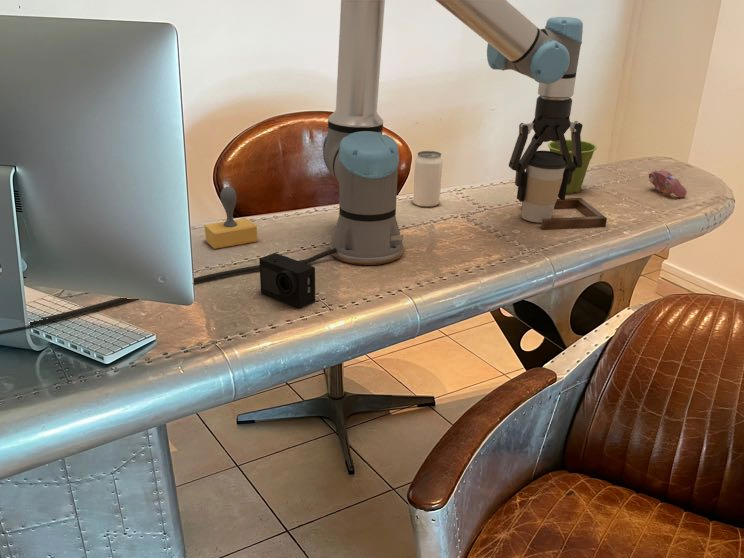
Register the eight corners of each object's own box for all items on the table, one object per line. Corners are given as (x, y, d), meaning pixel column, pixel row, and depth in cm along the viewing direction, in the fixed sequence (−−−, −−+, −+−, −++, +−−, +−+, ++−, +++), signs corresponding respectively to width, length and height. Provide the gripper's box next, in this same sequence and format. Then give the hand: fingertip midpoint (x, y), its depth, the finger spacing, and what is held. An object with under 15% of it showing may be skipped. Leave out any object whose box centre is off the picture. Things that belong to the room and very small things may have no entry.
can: (444, 205, 196) (448, 155, 190) (420, 208, 194) (423, 158, 188) (431, 198, 202) (435, 149, 195) (408, 201, 200) (411, 151, 193)
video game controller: (648, 193, 210) (643, 170, 206) (664, 184, 210) (658, 161, 206) (673, 205, 202) (668, 181, 198) (689, 195, 202) (684, 171, 198)
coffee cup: (553, 213, 192) (565, 148, 184) (558, 225, 185) (571, 159, 177) (514, 210, 193) (525, 146, 185) (518, 222, 185) (529, 156, 177)
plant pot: (538, 182, 213) (544, 139, 207) (583, 183, 212) (590, 139, 206) (546, 196, 203) (552, 151, 197) (594, 197, 202) (602, 152, 196)
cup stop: (543, 229, 182) (544, 220, 181) (521, 208, 195) (522, 200, 194) (605, 226, 184) (607, 218, 183) (579, 205, 197) (581, 197, 196)
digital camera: (255, 294, 152) (253, 259, 148) (276, 286, 155) (274, 251, 152) (294, 311, 146) (293, 274, 142) (315, 301, 149) (314, 266, 146)
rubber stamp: (214, 249, 172) (210, 193, 165) (205, 241, 176) (200, 186, 170) (258, 242, 175) (255, 187, 169) (247, 233, 180) (244, 180, 173)
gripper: (595, 91, 179) (579, 192, 191) (500, 94, 176) (490, 196, 188) (610, 98, 173) (592, 202, 185) (511, 101, 170) (500, 206, 182)
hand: (540, 199), depth 186 cm, fingers closed on coffee cup, 9 cm apart
